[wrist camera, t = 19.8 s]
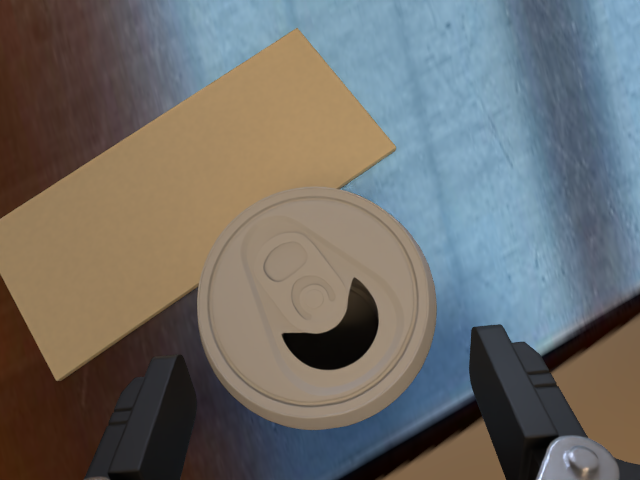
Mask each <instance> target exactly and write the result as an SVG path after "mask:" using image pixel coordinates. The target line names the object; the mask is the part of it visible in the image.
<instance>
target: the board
mask: <svg viewBox="0 0 640 480" xmlns="http://www.w3.org/2000/svg"><path fill="white" fill-rule="evenodd" d="M395 150H396V146H395V145H394V144H393V143H392V141H391V140H390V139H389V138H388V137H387V135H386V134H385V133H384V132H383V131H382V129H381V128H380V127H379V126H378V125H377V123H376V122H375V121H374V120H373V118H372V117H371V116H370V115H369V114H368V112H367V111H366V110H365V109H364V108H363V106H362V105H361V104H360V103H359V102H358V100H357V99H356V98H355V97H354V96H353V94H352V93H351V92H350V91H349V90H348V88H347V87H346V86H345V85H344V84H343V82H342V81H341V80H340V79H339V78H338V76H337V75H336V74H335V73H334V72H333V70H332V69H331V68H330V67H329V65H328V64H327V63H326V62H325V61H324V59H323V58H322V57H321V56H320V55H319V53H318V52H317V51H316V50H315V49H314V47H313V46H312V45H311V44H310V43H309V41H308V40H307V39H306V38H305V37H304V35H303V34H302V33H301V32H300V31H299V29H298V28H296V29H295V30H293V31H292V32H290V33H289V34H287V35H285V36H284V37H282V38H281V39H279V40H278V41H276V42H275V43H273V44H271V45H270V46H268V47H267V48H265V49H264V50H262V51H261V52H259V53H257V54H256V55H254V56H253V57H251V58H250V59H248V60H247V61H245V62H243V63H242V64H240V65H239V66H237V67H236V68H234V69H233V70H231V71H229V72H228V73H226V74H225V75H223V76H222V77H220V78H219V79H217V80H215V81H214V82H212V83H211V84H209V85H208V86H206V87H205V88H203V89H201V90H200V91H198V92H197V93H195V94H194V95H192V96H191V97H189V98H187V99H186V100H184V101H183V102H181V103H180V104H178V105H177V106H175V107H174V108H172V109H170V110H169V111H167V112H166V113H164V114H163V115H161V116H160V117H158V118H156V119H155V120H153V121H152V122H150V123H149V124H147V125H146V126H144V127H142V128H141V129H139V130H138V131H136V132H135V133H133V134H132V135H130V136H128V137H127V138H125V139H124V140H122V141H121V142H119V143H118V144H116V145H114V146H113V147H111V148H110V149H108V150H107V151H105V152H104V153H102V154H100V155H99V156H97V157H96V158H94V159H93V160H91V161H90V162H88V163H86V164H85V165H83V166H82V167H80V168H79V169H77V170H76V171H74V172H72V173H71V174H69V175H68V176H66V177H65V178H63V179H62V180H60V181H58V182H57V183H55V184H54V185H52V186H51V187H49V188H48V189H46V190H44V191H43V192H41V193H40V194H38V195H37V196H35V197H34V198H32V199H31V200H29V201H27V202H26V203H24V204H23V205H21V206H20V207H18V208H17V209H15V210H13V211H12V212H10V213H9V214H7V215H6V216H4V217H3V218H1V219H0V274H1V276H2V278H3V280H4V282H5V284H6V286H7V288H8V289H9V291H10V293H11V295H12V297H13V299H14V301H15V303H16V305H17V307H18V309H19V311H20V312H21V314H22V316H23V318H24V320H25V322H26V324H27V326H28V328H29V330H30V332H31V334H32V335H33V337H34V339H35V341H36V343H37V345H38V347H39V349H40V351H41V353H42V355H43V357H44V358H45V360H46V362H47V364H48V366H49V368H50V370H51V372H52V374H53V376H54V378H55V380H56V381H61V380H63V379H64V378H66V377H67V376H69V375H70V374H72V373H73V372H75V371H76V370H77V369H79V368H80V367H82V366H83V365H85V364H86V363H88V362H89V361H90V360H92V359H93V358H95V357H96V356H98V355H99V354H101V353H102V352H104V351H105V350H106V349H108V348H109V347H111V346H112V345H114V344H115V343H117V342H118V341H120V340H121V339H122V338H124V337H125V336H127V335H128V334H130V333H131V332H133V331H134V330H136V329H137V328H138V327H140V326H141V325H143V324H144V323H146V322H147V321H149V320H150V319H151V318H153V317H154V316H156V315H157V314H159V313H160V312H162V311H163V310H165V309H166V308H167V307H169V306H170V305H172V304H173V303H175V302H176V301H178V300H179V299H181V298H182V297H183V296H185V295H186V294H188V293H189V292H191V291H192V290H194V289H195V288H197V287H198V286H199V281H200V277H201V273H202V270H203V267H204V263H205V261H206V259H207V256H208V254H209V252H210V250H211V248H212V246H213V245H214V243H215V241H216V240H217V238H218V237H219V235H220V234H221V233H222V231H223V230H224V229H225V228H226V227H227V225H228V224H229V223H230V222H231V221H232V220H233V219H234V218H235V217H237V216H238V215H239V214H240V213H241V212H242V211H244V210H245V209H246V208H248V207H249V206H251V205H253V204H254V203H256V202H258V201H259V200H261V199H263V198H265V197H268V196H270V195H273V194H275V193H278V192H281V191H285V190H289V189H295V188H302V187H328V188H335V189H340V188H342V187H343V186H345V185H346V184H348V183H349V182H351V181H352V180H353V179H355V178H356V177H358V176H359V175H361V174H362V173H364V172H365V171H366V170H368V169H369V168H371V167H372V166H374V165H375V164H377V163H378V162H380V161H381V160H382V159H384V158H385V157H387V156H388V155H390V154H391V153H393V152H394V151H395Z"/></svg>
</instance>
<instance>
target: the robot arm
mask: <svg viewBox="0 0 640 480" xmlns="http://www.w3.org/2000/svg"><path fill="white" fill-rule="evenodd" d="M469 374H470V381H471V385H472V389H473V392H474V395H475V398H476V400H477V403H478V406H479V408H480V411H481V414H482V416H483V419H484V422H485V424H486V427H487V429H488V432H489V434H490V437H491V440H492V443H493V446H494V448H495V451H496V454H497V456H498V459H499V462H500V464H501V467H502V470H503V472H504V475H505V477H506V480H640V465H638V464H633V463H628V462H624V461H622V460H619V459H616V458H614V457H613V456H612V455H611V453H610V452H608V451H607V449H605V448H604V447H603V446H602V445H600V444H598V443H597V442H595V441H593V440H591V439H589V438H588V436H587V435H586V434H585V432H584V430H583V428H582V427H581V425H580V423H579V421H578V420H577V418H576V416H575V415H574V413H573V411H572V409H571V408H570V406H569V404H568V403H567V401H566V399H565V397H564V396H563V394H562V392H561V390H560V389H559V387H558V386H557V385H556V382H555V380H554V378H553V376H552V375H551V373H549V369H548V368H547V366H546V364H545V362H544V361H543V359H542V357H541V356H540V354H539V353H537V352H536V351H535V350H534V349H533V348H531V347H530V346H529V345H528V344H526V343H525V342H515V343H511V341H510V339H509V337H508V335H507V333H506V331H505V329H504V328H503V326H502V325H500V324H498V325H488V326H478V327H473V328H472V330H471V344H470V362H469ZM196 410H197V401H196V394H195V390H194V387H193V384H192V381H191V378H190V375H189V372H188V369H187V366H186V363H185V360H184V358H183V356H182V355H180V354H179V355H169V356H158V357H153V358H152V360H151V361H150V364H149V366H148V369H147V372H146V374H145V377H137V378H134V379H133V380H132V382H131V383H130V384H129V385H128V386H127V387H126V388H125V389H124V390H123V392H122V393H121V395H120V397H119V399H118V402H117V404H116V406H115V409H114V413H112V416H111V418H110V420H109V425H108V426H107V427H106V430H105V432H104V434H103V437H102V439H101V441H100V444H99V446H98V448H97V451H96V453H95V455H94V458H93V460H92V462H91V464H90V467H89V469H88V471H87V474H86V476H85V478H84V480H180V477H181V473H182V469H183V465H184V461H185V457H186V453H187V449H188V445H189V441H190V437H191V433H192V429H193V425H194V421H195V416H196Z"/></svg>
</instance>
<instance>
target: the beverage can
mask: <svg viewBox="0 0 640 480" xmlns="http://www.w3.org/2000/svg"><path fill="white" fill-rule="evenodd" d="M197 313H198V325H199V332H200V337H201V341H202V345H203V348H204V351H205V354H206V356H207V359H208V361H209V363H210V365H211V367H212V369H213V371H214V373H215V374H216V376H217V378H218V379H219V380H220V382H221V383H222V384H223V386H224V387H225V388H226V389H227V390H228V392H229V393H230V394H231V395H232V396H233V397H234V398H236V399H237V400H238V401H239V402H240V403H241V404H243V405H244V406H245V407H246V408H248V409H249V410H251V411H252V412H254V413H256V414H257V415H259V416H261V417H263V418H265V419H267V420H269V421H272V422H274V423H277V424H280V425H283V426H287V427H291V428H297V429H304V430H322V429H330V428H337V427H344V426H349V425H352V424H355V423H357V422H360V421H362V420H365V419H367V418H369V417H371V416H373V415H375V414H377V413H378V412H380V411H381V410H383V409H384V408H386V407H387V406H389V405H390V404H391V403H392V402H394V401H395V400H396V399H397V398H398V397H399V396H400V395H401V394H402V393H403V392H404V391H405V390H406V389H407V388H408V386H409V385H410V384H411V383H412V381H413V380H414V378H415V377H416V376H417V374H418V373H419V371H420V369H421V368H422V366H423V364H424V361H425V359H426V357H427V355H428V352H429V350H430V347H431V343H432V340H433V336H434V331H435V325H436V314H437V304H436V293H435V286H434V281H433V278H432V274H431V271H430V268H429V265H428V263H427V261H426V258H425V256H424V254H423V252H422V250H421V249H420V247H419V245H418V244H417V242H416V241H415V240H414V238H413V237H412V235H411V234H410V233H409V232H408V230H407V229H406V228H405V227H404V226H403V225H402V224H401V223H400V222H398V221H397V220H396V219H395V218H394V217H393V216H391V215H390V214H389V213H387V212H386V211H385V210H383V209H382V208H381V207H379V206H378V205H376V204H374V203H373V202H371V201H369V200H367V199H365V198H363V197H361V196H359V195H356V194H354V193H351V192H347V191H344V190H340V189H335V188H328V187H302V188H295V189H289V190H285V191H281V192H278V193H275V194H273V195H270V196H268V197H265V198H263V199H261V200H259V201H258V202H256V203H254V204H253V205H251V206H249V207H248V208H246V209H245V210H244V211H242V212H241V213H240V214H239V215H238V216H237V217H235V218H234V219H233V220H232V221H231V222H230V223H229V224H228V225H227V227H226V228H225V229H224V230H223V231H222V233H221V234H220V235H219V237H218V238H217V240H216V241H215V243H214V245H213V246H212V248H211V250H210V252H209V254H208V256H207V259H206V261H205V263H204V267H203V270H202V273H201V277H200V281H199V287H198V296H197Z"/></svg>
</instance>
